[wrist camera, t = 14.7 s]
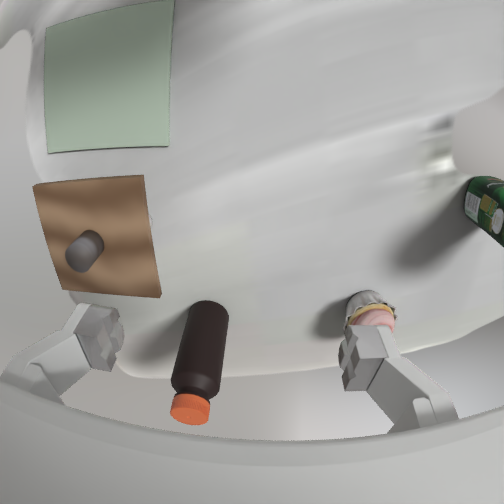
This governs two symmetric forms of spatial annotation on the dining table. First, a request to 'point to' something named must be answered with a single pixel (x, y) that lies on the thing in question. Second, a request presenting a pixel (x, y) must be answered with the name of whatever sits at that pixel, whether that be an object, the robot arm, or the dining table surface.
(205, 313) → the bottle
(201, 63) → the dining table surface
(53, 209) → the lid
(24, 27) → the dining table surface
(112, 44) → the mat
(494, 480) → the robot arm
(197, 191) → the dining table surface
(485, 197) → the coffee jar
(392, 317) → the cupcake
